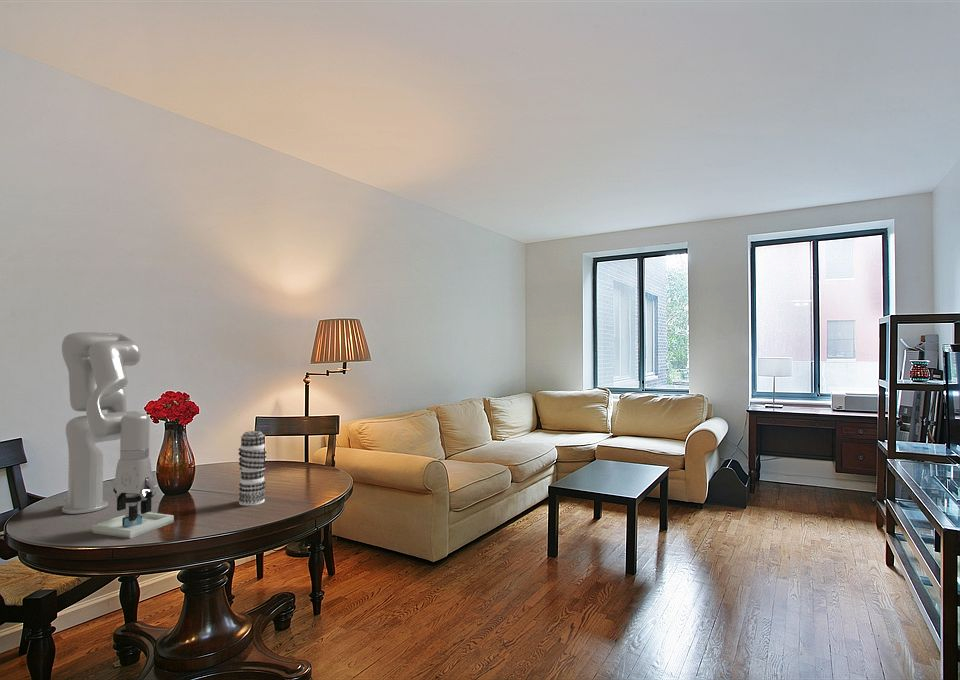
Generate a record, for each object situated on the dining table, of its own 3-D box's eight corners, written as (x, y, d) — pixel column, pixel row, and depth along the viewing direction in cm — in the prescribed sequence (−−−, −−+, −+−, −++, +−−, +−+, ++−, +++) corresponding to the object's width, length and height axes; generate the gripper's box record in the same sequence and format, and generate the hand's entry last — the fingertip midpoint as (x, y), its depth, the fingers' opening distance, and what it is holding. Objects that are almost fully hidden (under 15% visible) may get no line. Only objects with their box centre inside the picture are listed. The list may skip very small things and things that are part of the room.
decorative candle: (233, 502, 193) (234, 431, 193) (259, 497, 200) (260, 429, 200) (243, 507, 187) (244, 434, 187) (270, 502, 193) (270, 432, 194)
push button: (143, 520, 170) (144, 488, 170) (150, 523, 167) (150, 491, 167) (119, 525, 165) (119, 492, 165) (125, 529, 161) (126, 495, 162)
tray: (91, 532, 161) (91, 525, 161) (136, 517, 175) (137, 510, 175) (130, 538, 156) (130, 530, 156) (173, 522, 171) (173, 515, 171)
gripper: (101, 455, 165) (100, 512, 165) (146, 458, 160) (145, 517, 160) (124, 450, 172) (123, 505, 172) (167, 454, 167) (166, 510, 167)
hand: (134, 511), depth 166 cm, fingers open, 9 cm apart
